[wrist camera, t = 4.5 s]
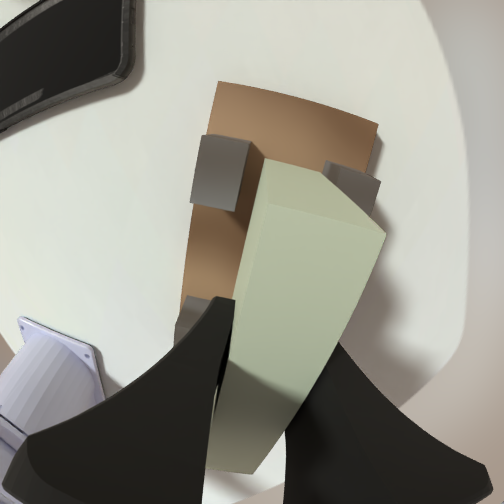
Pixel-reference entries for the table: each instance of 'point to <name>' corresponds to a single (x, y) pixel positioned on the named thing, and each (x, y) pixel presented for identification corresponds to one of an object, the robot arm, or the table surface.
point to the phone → (63, 53)
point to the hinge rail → (248, 176)
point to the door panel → (287, 308)
